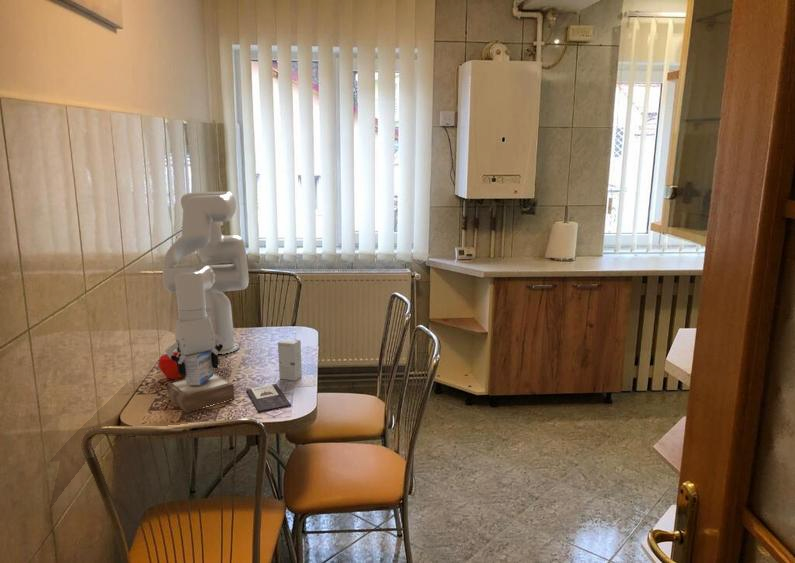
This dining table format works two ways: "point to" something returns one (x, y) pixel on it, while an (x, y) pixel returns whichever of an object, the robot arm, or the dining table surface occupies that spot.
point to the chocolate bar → (268, 398)
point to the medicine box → (198, 368)
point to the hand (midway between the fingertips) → (198, 371)
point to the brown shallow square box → (200, 393)
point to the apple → (169, 366)
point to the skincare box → (289, 359)
